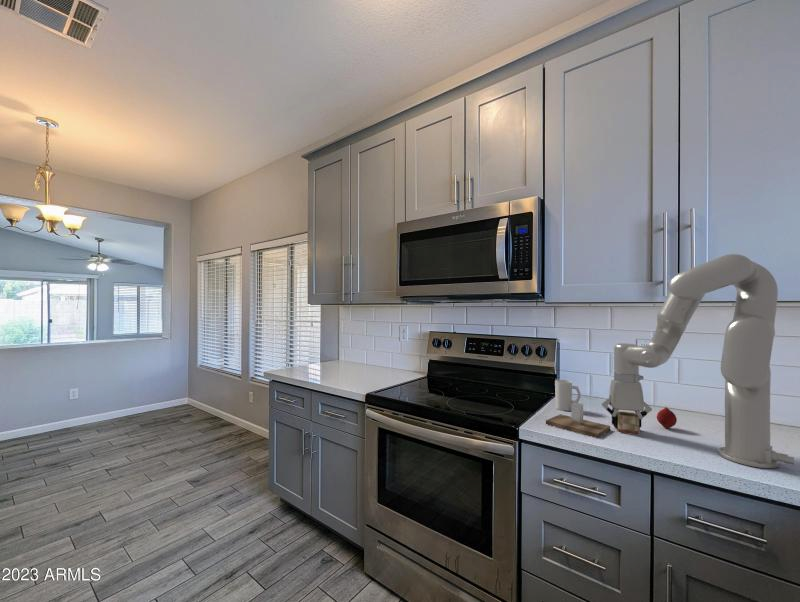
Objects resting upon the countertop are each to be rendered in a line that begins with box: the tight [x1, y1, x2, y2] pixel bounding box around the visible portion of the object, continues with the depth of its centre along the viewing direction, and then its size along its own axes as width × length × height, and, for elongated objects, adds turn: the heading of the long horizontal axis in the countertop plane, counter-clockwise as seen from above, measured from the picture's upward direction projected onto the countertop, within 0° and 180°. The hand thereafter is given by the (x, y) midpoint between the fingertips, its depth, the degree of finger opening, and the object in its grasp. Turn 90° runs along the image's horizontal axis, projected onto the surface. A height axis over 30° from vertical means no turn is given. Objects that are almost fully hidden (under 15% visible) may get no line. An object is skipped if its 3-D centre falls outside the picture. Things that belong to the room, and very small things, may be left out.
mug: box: [554, 379, 581, 412], centre depth 152 cm, size 10×7×12 cm, turn 52°
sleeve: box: [615, 410, 640, 435], centre depth 126 cm, size 6×6×6 cm
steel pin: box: [570, 402, 584, 425], centre depth 130 cm, size 3×3×7 cm
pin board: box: [545, 413, 611, 439], centre depth 130 cm, size 18×12×2 cm, turn 41°
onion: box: [656, 406, 678, 430], centre depth 129 cm, size 6×6×8 cm
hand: (626, 427), depth 126 cm, fingers closed on sleeve, 6 cm apart
